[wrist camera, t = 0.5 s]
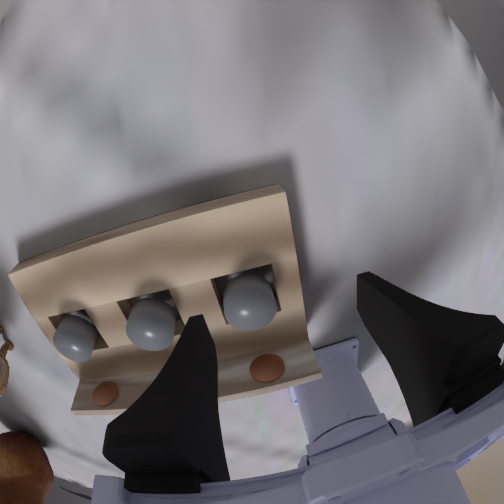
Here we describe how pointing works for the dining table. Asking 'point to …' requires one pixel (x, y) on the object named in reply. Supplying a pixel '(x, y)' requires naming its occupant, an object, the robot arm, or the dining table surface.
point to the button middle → (151, 324)
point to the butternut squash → (23, 470)
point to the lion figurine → (4, 365)
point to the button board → (176, 297)
